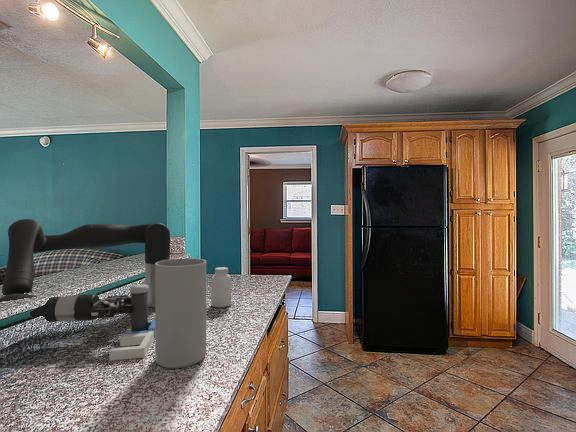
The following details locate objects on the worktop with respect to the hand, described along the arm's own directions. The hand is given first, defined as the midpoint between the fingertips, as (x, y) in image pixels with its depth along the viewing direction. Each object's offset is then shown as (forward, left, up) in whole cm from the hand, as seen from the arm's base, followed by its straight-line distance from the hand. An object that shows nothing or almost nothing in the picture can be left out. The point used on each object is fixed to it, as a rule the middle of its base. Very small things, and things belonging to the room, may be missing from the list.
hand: (137, 304), depth 95 cm
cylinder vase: (+23, -2, -10) cm, 25 cm away
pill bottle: (-1, +36, -10) cm, 38 cm away
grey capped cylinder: (0, 0, -10) cm, 10 cm away
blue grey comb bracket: (+5, -3, -10) cm, 11 cm away
